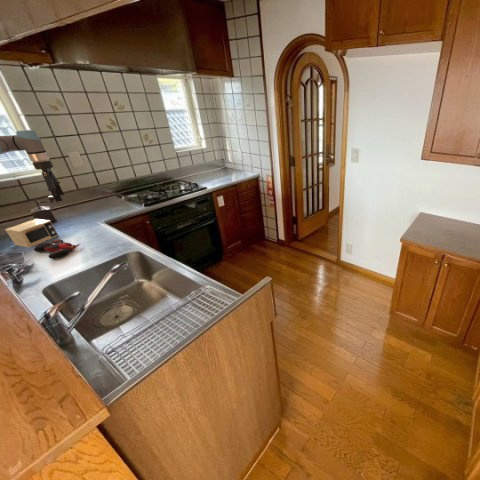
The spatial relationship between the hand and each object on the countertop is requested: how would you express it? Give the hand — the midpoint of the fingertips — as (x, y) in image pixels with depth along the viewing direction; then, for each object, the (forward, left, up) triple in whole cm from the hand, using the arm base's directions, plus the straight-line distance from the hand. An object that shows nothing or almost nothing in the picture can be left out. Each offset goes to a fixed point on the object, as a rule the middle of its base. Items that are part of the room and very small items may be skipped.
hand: (60, 198), depth 152 cm
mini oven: (-27, -7, -28) cm, 40 cm away
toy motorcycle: (+1, -13, -28) cm, 31 cm away
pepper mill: (-54, +19, -28) cm, 64 cm away
